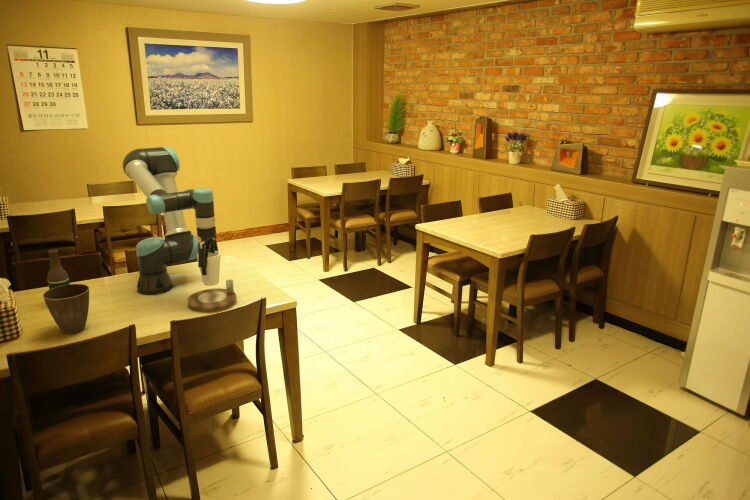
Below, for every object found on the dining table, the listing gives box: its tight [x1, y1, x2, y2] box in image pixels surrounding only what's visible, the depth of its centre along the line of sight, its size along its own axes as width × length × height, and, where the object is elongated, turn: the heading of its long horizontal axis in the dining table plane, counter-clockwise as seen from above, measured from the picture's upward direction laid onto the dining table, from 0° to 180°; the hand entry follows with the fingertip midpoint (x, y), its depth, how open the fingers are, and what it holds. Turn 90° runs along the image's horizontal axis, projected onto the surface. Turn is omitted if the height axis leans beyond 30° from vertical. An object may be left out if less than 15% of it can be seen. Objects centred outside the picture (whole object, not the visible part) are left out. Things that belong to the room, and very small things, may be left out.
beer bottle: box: [46, 248, 71, 290], centre depth 215 cm, size 8×8×24 cm
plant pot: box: [42, 283, 90, 335], centre depth 193 cm, size 15×15×16 cm
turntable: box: [187, 279, 237, 311], centre depth 219 cm, size 20×20×8 cm
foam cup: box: [196, 250, 222, 287], centre depth 216 cm, size 10×9×13 cm
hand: (210, 277), depth 217 cm, fingers closed on foam cup, 9 cm apart
